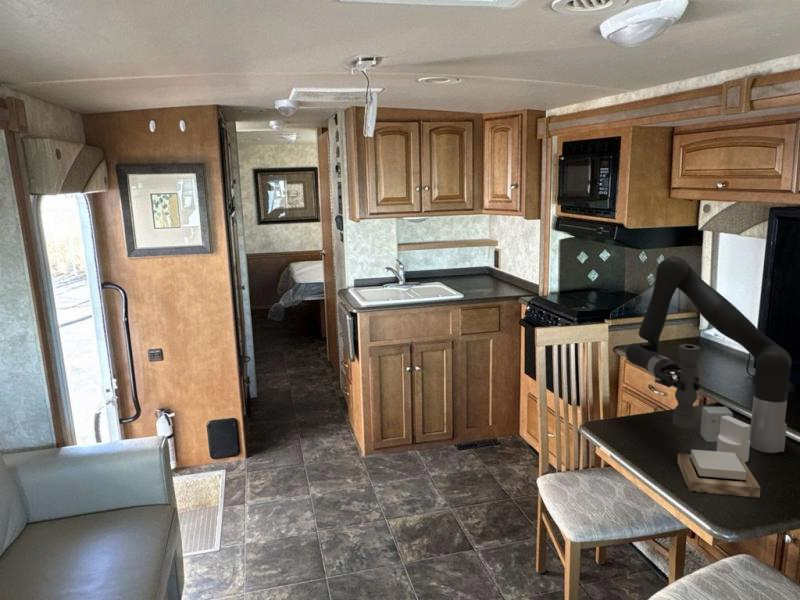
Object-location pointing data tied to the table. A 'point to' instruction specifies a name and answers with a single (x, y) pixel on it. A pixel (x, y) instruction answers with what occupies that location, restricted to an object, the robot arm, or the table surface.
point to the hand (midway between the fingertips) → (691, 387)
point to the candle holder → (685, 399)
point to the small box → (712, 422)
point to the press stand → (717, 481)
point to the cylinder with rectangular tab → (734, 437)
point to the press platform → (718, 464)
